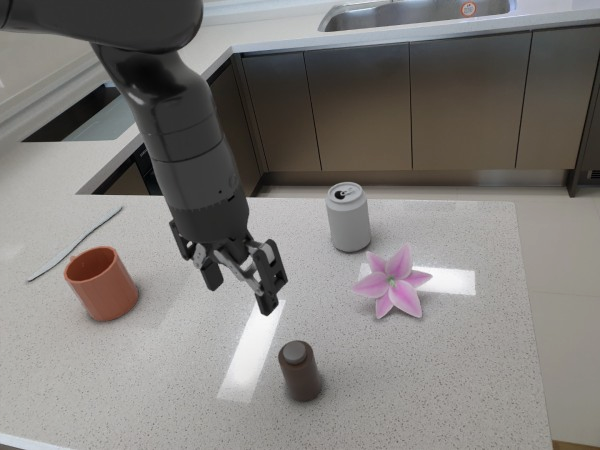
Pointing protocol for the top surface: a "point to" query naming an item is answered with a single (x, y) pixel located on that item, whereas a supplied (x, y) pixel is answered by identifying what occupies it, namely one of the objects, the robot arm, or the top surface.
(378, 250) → the top surface
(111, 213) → the butter knife
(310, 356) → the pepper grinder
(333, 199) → the can
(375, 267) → the lily
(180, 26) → the robot arm
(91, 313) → the terracotta plant pot
